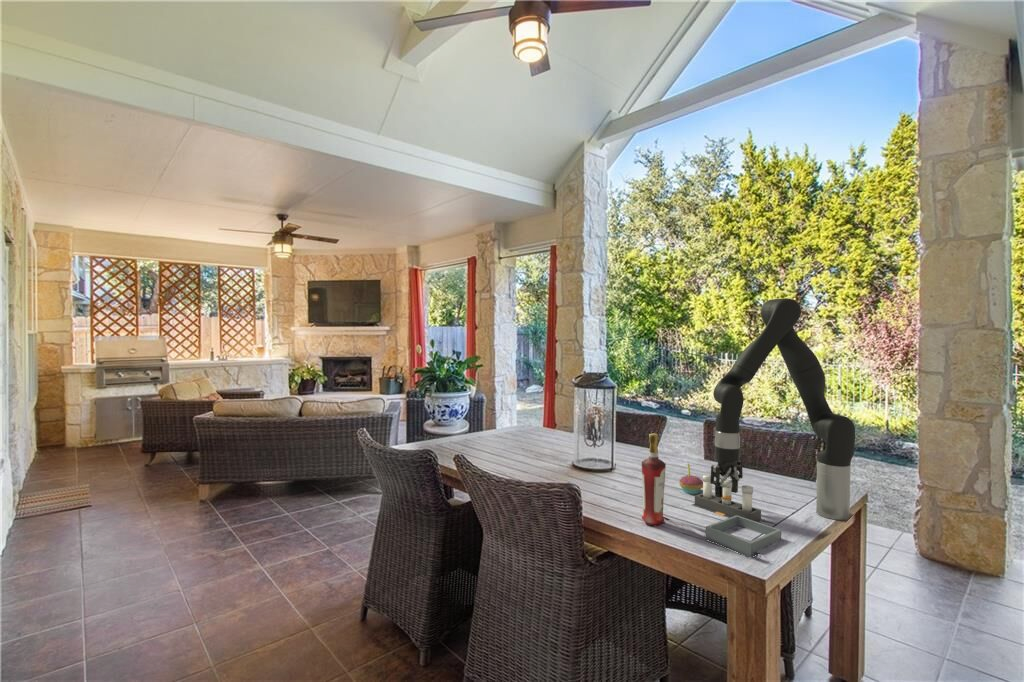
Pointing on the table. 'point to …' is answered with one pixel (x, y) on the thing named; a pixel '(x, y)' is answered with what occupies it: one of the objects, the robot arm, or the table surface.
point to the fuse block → (726, 508)
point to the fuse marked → (727, 492)
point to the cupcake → (691, 483)
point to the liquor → (653, 484)
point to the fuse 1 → (707, 487)
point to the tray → (739, 544)
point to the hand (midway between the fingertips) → (726, 494)
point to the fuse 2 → (747, 498)
